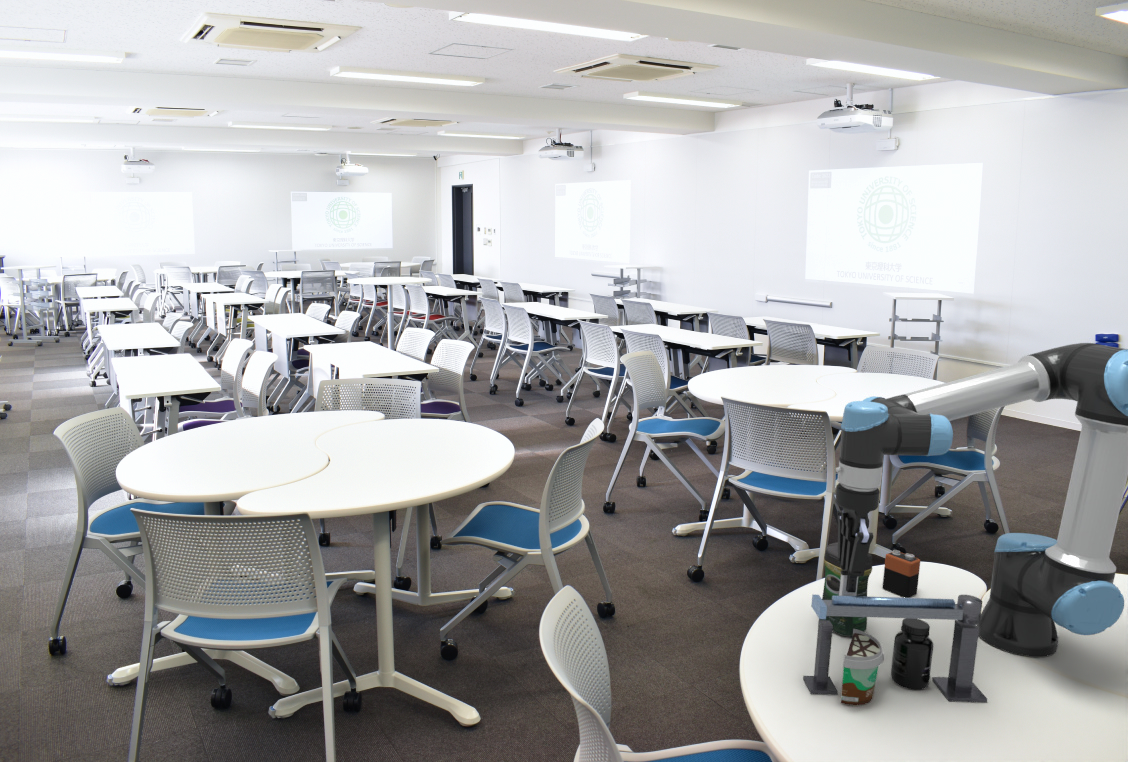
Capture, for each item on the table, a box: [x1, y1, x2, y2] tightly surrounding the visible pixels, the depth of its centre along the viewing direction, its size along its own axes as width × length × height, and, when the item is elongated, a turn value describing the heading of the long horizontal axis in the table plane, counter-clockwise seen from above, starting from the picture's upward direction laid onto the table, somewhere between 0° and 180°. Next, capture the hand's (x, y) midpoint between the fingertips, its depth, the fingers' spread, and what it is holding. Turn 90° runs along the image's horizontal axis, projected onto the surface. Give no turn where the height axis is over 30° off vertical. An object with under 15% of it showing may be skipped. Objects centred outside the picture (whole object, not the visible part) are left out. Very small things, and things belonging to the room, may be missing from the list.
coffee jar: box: [818, 541, 873, 637], centre depth 170 cm, size 10×8×19 cm
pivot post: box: [931, 620, 988, 704], centre depth 147 cm, size 7×7×14 cm
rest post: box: [802, 619, 839, 696], centre depth 147 cm, size 5×5×13 cm
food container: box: [840, 629, 885, 706], centre depth 145 cm, size 12×6×10 cm, turn 153°
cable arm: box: [810, 593, 983, 626], centre depth 146 cm, size 30×5×4 cm, turn 89°
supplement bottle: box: [890, 618, 934, 691], centre depth 150 cm, size 7×7×12 cm
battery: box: [882, 549, 921, 598], centre depth 190 cm, size 4×7×10 cm, turn 36°
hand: (846, 605), depth 149 cm, fingers closed
